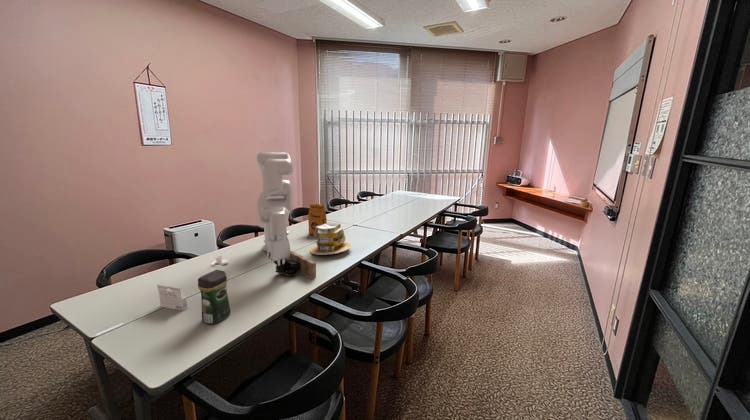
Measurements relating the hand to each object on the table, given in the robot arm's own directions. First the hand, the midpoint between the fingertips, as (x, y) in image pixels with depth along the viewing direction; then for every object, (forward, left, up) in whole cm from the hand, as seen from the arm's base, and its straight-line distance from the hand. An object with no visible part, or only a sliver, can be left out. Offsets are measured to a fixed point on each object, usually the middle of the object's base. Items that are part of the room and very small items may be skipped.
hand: (280, 271), depth 152 cm
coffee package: (-41, +55, -4) cm, 68 cm away
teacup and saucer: (-35, -16, -4) cm, 38 cm away
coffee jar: (+13, -35, -4) cm, 38 cm away
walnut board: (0, +12, -3) cm, 12 cm away
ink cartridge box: (-6, -44, -4) cm, 45 cm away
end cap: (-1, +4, -3) cm, 5 cm away
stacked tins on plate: (-11, +41, -4) cm, 43 cm away
